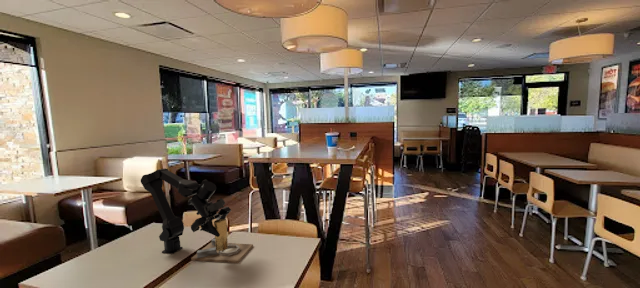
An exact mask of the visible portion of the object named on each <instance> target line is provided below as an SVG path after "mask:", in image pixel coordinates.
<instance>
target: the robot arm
mask: <svg viewBox="0 0 640 288" xmlns="http://www.w3.org/2000/svg"><path fill="white" fill-rule="evenodd" d="M164 182H165V183H167V184H168V185H171V186H172V187H174V188H175V189H177V193H178V194H180V195H181V196H182V197H183V198H188V201H187V206H190V205H191V206H193V207H194V209H195V210H196V211H197V212H196V215H197V216H200V217H199V218H196V219H195V220H194V222H193V223H192V224H191V225H190V230H191V231H192V232H193V233H195V232H197V231H203V232H206V233H208V234H211V235H213V236H214V237H215V236H217V237H219V236H220V235H219V233H218V231H217V230H216V228H215V227H214V222H213V221H216V220H219V219H226V218H227V216H228V215H229V214H230V212H231V211H232V209H231V208H230V206H225V205H226V201H225V200H224V199H223V198H222V197H221V198H219V199H217V200H216V201H215V202H212V201H210V202H209V201H208V200H210V198H211V197H212V196H213V194H214V193H215V192H216V190H217V185H216V184H215V183H214V182H212V181H209V180H208V179H204V180H202V181H201V183H200V184H199V183H198V182H196V181H193V180H192V179H191V180H190V179H184V178H183V177H181V176H179V175H177V174H175V173H173V172H172V171H170V170H169V169H168V168H165V167H163V168H160V169H156V170H154V171H153V172H150V173H147V174H143V175H142V176H141V178H140V184H141V185H142V186H143V188H144V190H146V191H147V192H149V194H151V197H152V199H153V201H154V203H155V206H156V208H157V209H158V212H159V215H160V217H161V219H162V225H161V228H162V232H161V233H160V234H159V236H158V238H159V241H160V242H163V246H164V249H163V250H161V253H163V254H171V255H173V254H175V253H177V252H179V251H180V250H182V249H183V248H184V247H183V246H181V240H180V236H183V233H184V229H185V225H184V224H185V223H184V222H183V220H182V217H181V216H176V215H175V214H174V212H173V209H172V208H171V205H170V203H169V201H168V198H167V197H166V195H165V192H164V189H163V184H164ZM191 196H192V197H191ZM189 197H191V198H189ZM226 220H227V219H226ZM228 232H229V227H228V225H227V233H228Z"/></svg>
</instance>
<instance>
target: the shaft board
mask: <svg viewBox="0 0 640 288" xmlns="http://www.w3.org/2000/svg"><path fill="white" fill-rule="evenodd" d="M253 247H254V244H253V243H236V242H234V243H232V242H230V243H229V242H228V248H227V249H226V250H223V251H217V250H216V248H215V238H213V239H211V242H209V243H208V244H207V245H205V247H203V248H201V249H199V250H197V251H196V254H194V255H193V256H192V257H190V261H199V262H200V261H201V262H212V263H214V262H216V263H229V264H230V263H231V264H240V262H241V260H243V258H244V257H246V255H247V254H248V252H249V251H251V249H252V248H253Z"/></svg>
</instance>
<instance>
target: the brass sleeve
mask: <svg viewBox="0 0 640 288" xmlns="http://www.w3.org/2000/svg"><path fill="white" fill-rule="evenodd" d="M213 226H214V227H215V228H216V230H217V231H218V233H219V235H220V236H219V237H217V236H215V235H214V239H215V248H216V250H217V251H223V250H226V249H227V248H228V243H229V242H228V232H227V226H228V224H227V219H219V220H216V219H215V220H213Z"/></svg>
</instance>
